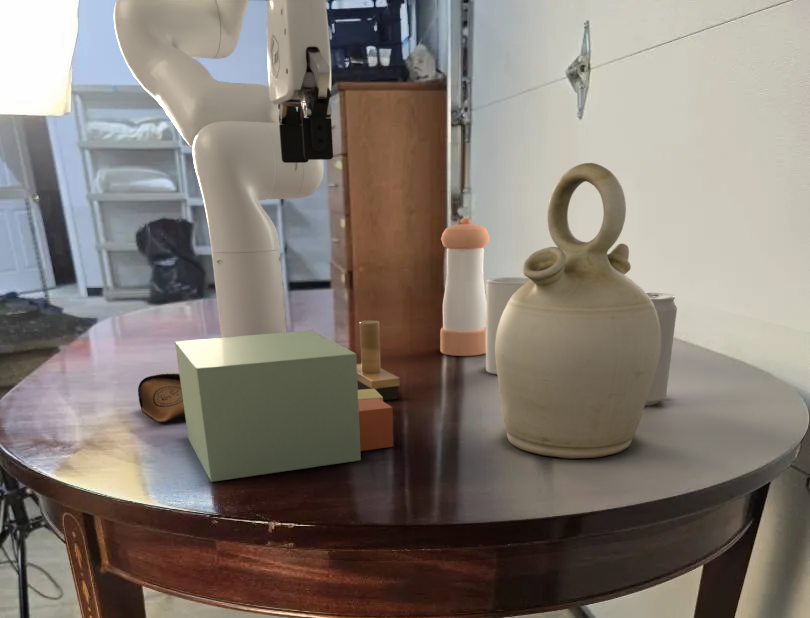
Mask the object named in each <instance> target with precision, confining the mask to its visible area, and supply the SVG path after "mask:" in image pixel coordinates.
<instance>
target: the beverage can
mask: <svg viewBox="0 0 810 618" xmlns="http://www.w3.org/2000/svg"><path fill="white" fill-rule="evenodd" d="M645 293H646V294H647V295H648V296H649V297H650V299H651V300H652V302H653V304H654V306H655V310H656V312H657V315H658V318H659V323H660V330H661V350H660V357H659V362H658V365H657V369H656V373H655V376H654V379H653V382H652V385H651V389H650V392H649V395H648V398H647V400H646V403H645V406H644V407H646V406H653V405H656V404H658V403H659V402H660V401H661V400H664V399H665V398H666V397H667V393H668V384H669V376H670V369H671V359H672V351H673V346H674V345H673V344H674V337H675V336H674V335H675V327H676V321H677V320H676V319H677V312H678V307H677V305H676V304H675V299H676V296H675V294H670V293H662V292H645Z"/></svg>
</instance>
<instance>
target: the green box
mask: <svg viewBox="0 0 810 618" xmlns="http://www.w3.org/2000/svg"><path fill="white" fill-rule="evenodd" d="M174 343H175V344H174V345H175V353H176V360H177V366H178V374H179V375H180V382H181V389H182V396H183V403H184V411H185V418H184V419H185V425H186V431H187V432H186V433H187V438H188V441H189V443H190V445H191V447H192V448H193V451H194V452H195V454H196V456H197V458H198V460H199V462H200V464H201V465H202V467H203V470H204V471H205V473H206V475H207V477H208V479H209V480H210V482H211V483H214V482H219V481H221V482H222V481H227V480H235V479H241V478H248V477H255V476H262V475H269V474H276V473H283V472H291V471H296V470H297V471H299V470H304V469H311V468H318V467H323V466H331V465H337V464H339V465H340V464H346V463H351V462H359V461H360V462H361V460H362V458H361V454H362V453H361V451H360V431H359V407H358V384H357V364H358V362H357V353H355V352H354V351H352V350H350V349H348V348H346V347H345V346H343V345H341V344H339V343H337V342H335V341H333V340H332V339H330V338H328V337H326V336H324V335H322V334H320V333H318V332H316V331H315V330H313V329H310V330H299V331H297V330H296V331H286V332H284V333H272V334H260V335H248V336H235V337H223V338H221V337H211V338H199V339H189V340H176V341H174Z"/></svg>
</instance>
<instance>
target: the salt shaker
mask: <svg viewBox="0 0 810 618" xmlns="http://www.w3.org/2000/svg"><path fill="white" fill-rule="evenodd" d="M459 222H460V224H451V225H449V226H447V227H446V228H445V229H444V231H443V232H442V233H441V238H440V240H441V243H442V246H443V247H444V248H447V249H446V277H445V278H446V279H445V286H444V292H443V300H442V326H441V328H440V332H439V333H440V334H439V336H440V337H439V338H440V340H439V342H440V343H439V345H440V348H439V349H440V353H441V354H443V355H448V356H455V357H456V356H457V357H470V356H471V357H472V356H480V355H484V354H486V288H485V282H484V258H485V257H484V255H485V249H484V248H485V247H487V246H488V244H489V242H490V239H491V238H490V234H489V232H488V230H487V228H486V227H484V226H483V225H481V224H476V223H475V224H474V223H472V220H471V218H469V217H462V218H461V219H460V221H459Z"/></svg>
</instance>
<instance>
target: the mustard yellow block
mask: <svg viewBox="0 0 810 618" xmlns="http://www.w3.org/2000/svg"><path fill="white" fill-rule="evenodd" d="M375 398H379V399H380V400H382V401H383V397H382V396H381V395H380V394H379V393H378V392H377V391H376V390H375V389H363V390H358V400H367V399H375ZM383 402H384V401H383Z"/></svg>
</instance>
